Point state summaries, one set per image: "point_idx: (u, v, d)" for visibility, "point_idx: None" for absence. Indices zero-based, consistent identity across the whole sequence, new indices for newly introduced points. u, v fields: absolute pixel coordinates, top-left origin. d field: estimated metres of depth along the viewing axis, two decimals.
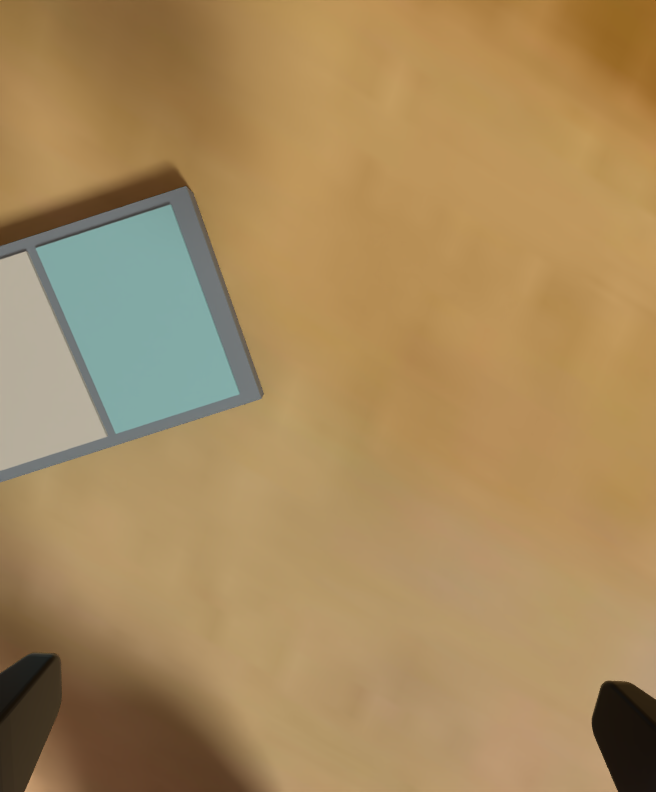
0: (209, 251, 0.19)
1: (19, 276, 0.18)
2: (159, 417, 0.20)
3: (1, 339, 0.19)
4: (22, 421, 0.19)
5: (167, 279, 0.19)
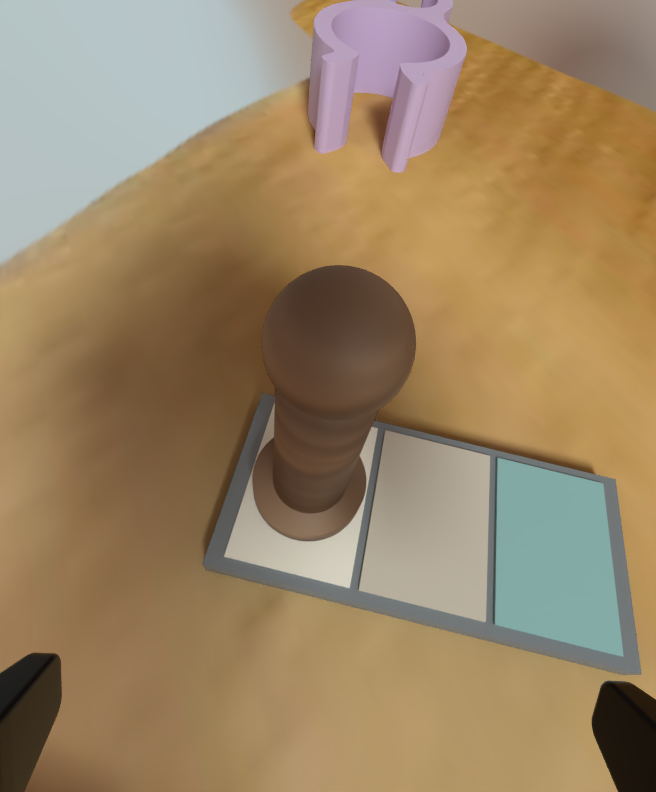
0: (619, 527, 0.23)
1: (477, 466, 0.24)
2: (538, 633, 0.20)
3: (441, 496, 0.22)
4: (421, 563, 0.21)
5: (585, 527, 0.22)
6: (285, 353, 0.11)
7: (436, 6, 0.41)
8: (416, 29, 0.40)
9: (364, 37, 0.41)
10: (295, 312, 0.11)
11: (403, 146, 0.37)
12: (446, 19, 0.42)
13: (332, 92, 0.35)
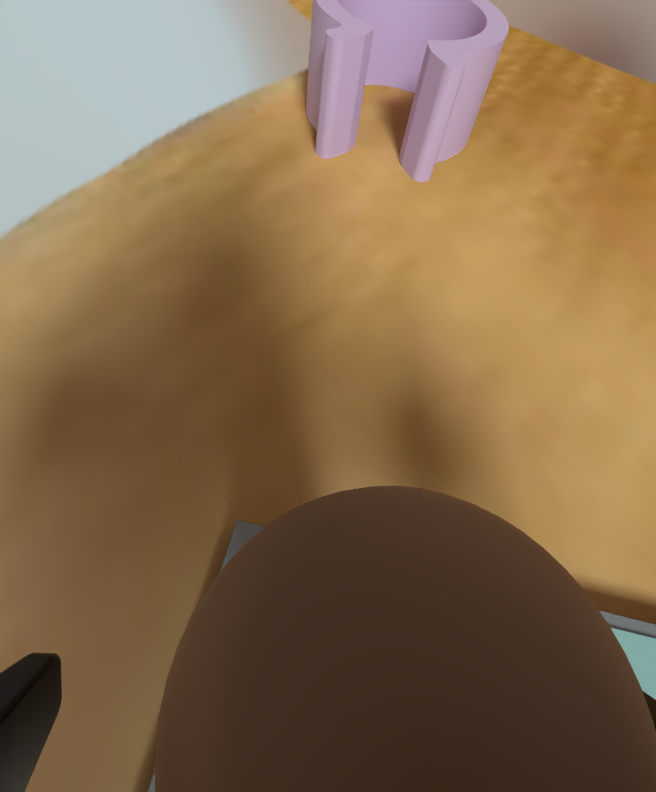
0: None
1: None
2: None
3: None
4: None
5: None
6: None
7: None
8: (440, 3, 0.32)
9: (375, 14, 0.33)
10: None
11: (429, 149, 0.29)
12: None
13: (339, 78, 0.27)
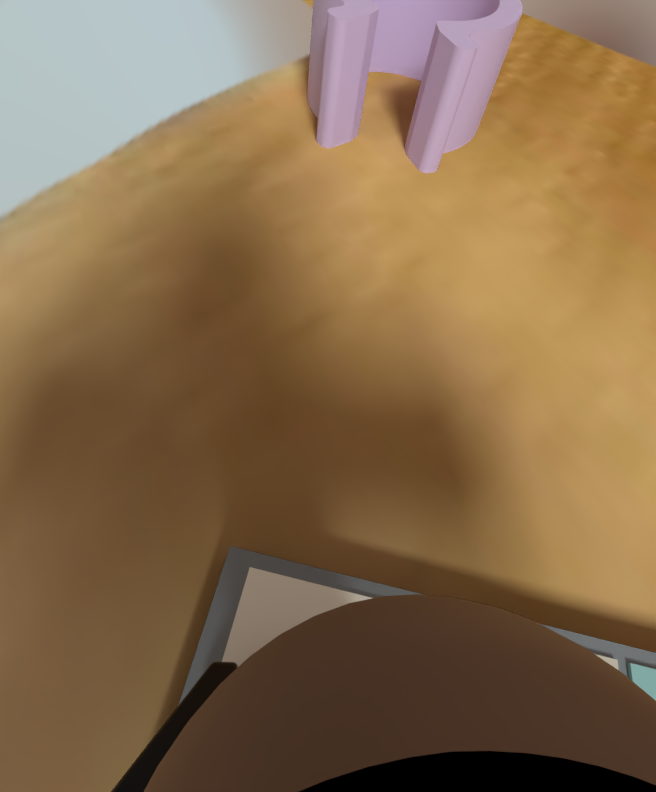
0: None
1: None
2: None
3: None
4: None
5: None
6: None
7: None
8: None
9: None
10: None
11: (437, 137, 0.27)
12: None
13: (342, 61, 0.25)
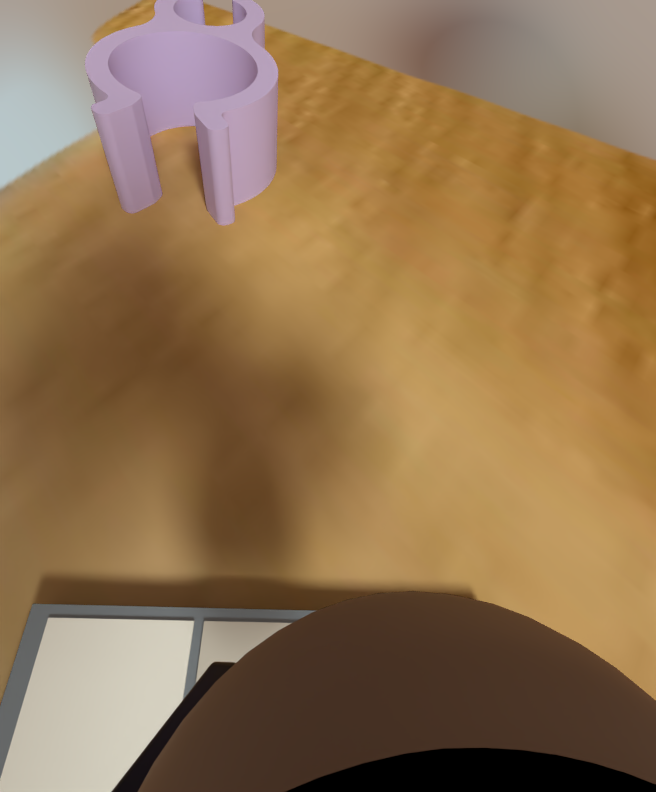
0: None
1: None
2: None
3: None
4: None
5: None
6: None
7: (244, 21, 0.35)
8: (223, 52, 0.34)
9: (165, 65, 0.35)
10: None
11: (221, 197, 0.31)
12: (259, 35, 0.36)
13: (117, 146, 0.29)
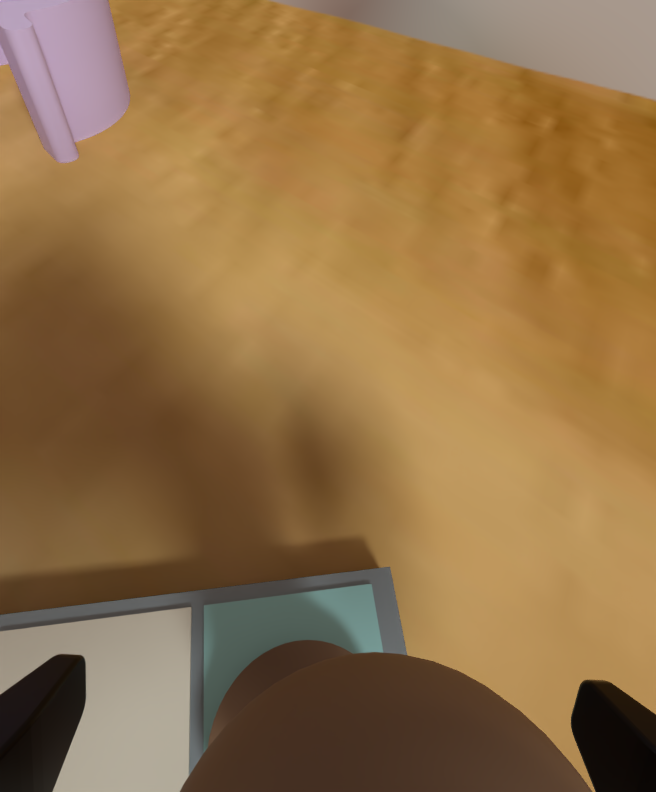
0: None
1: (169, 637, 0.14)
2: None
3: (102, 728, 0.13)
4: None
5: None
6: None
7: None
8: None
9: None
10: None
11: (51, 125, 0.26)
12: None
13: None
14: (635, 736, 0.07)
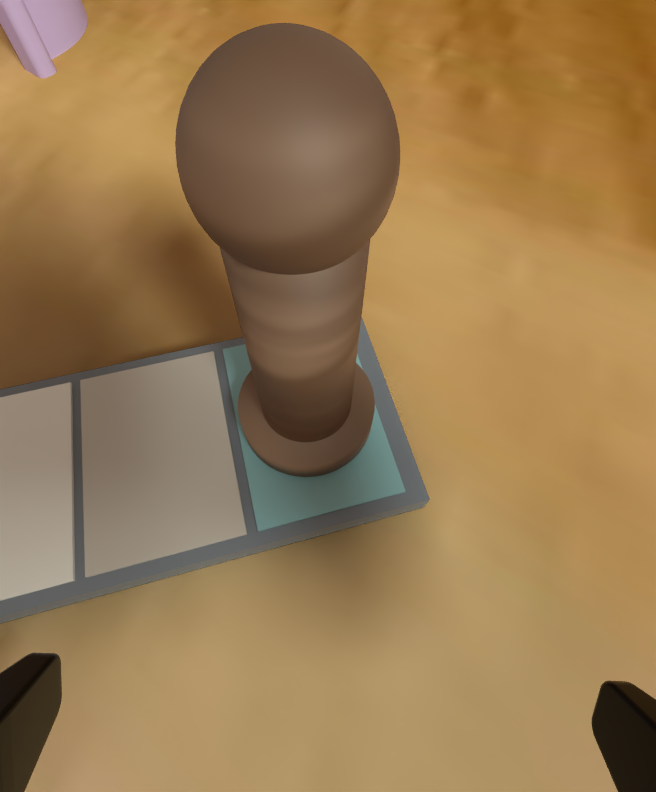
0: (376, 359, 0.20)
1: (201, 369, 0.20)
2: (310, 515, 0.17)
3: (165, 422, 0.18)
4: (156, 509, 0.17)
5: None
6: (201, 157, 0.07)
7: None
8: None
9: None
10: (205, 89, 0.07)
11: (28, 41, 0.30)
12: None
13: None
14: None
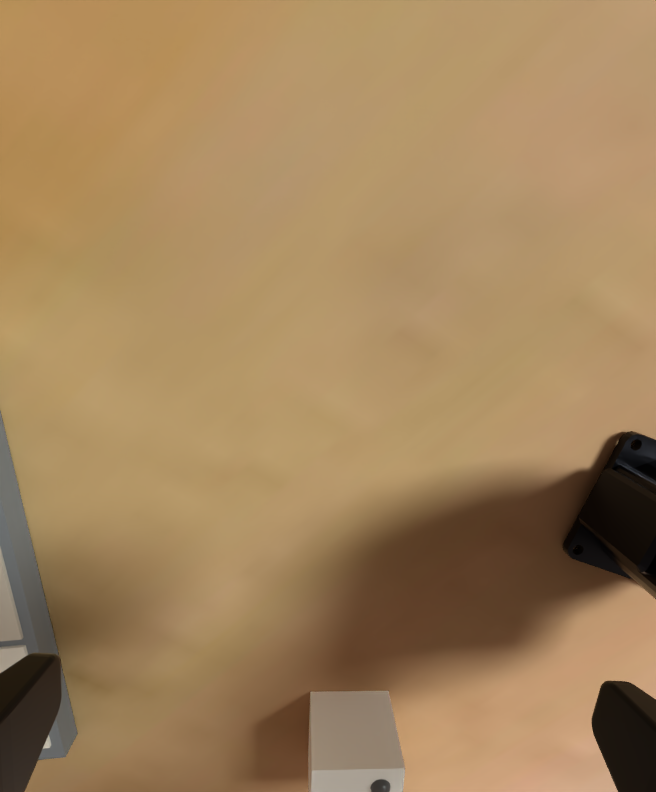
0: None
1: None
2: None
3: None
4: None
5: None
6: None
7: None
8: None
9: None
10: None
11: None
12: None
13: None
14: None
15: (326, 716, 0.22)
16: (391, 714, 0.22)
